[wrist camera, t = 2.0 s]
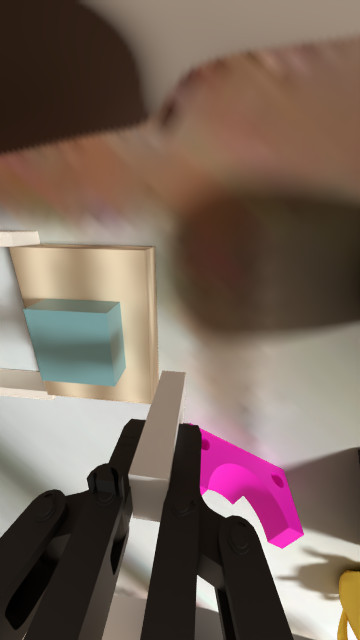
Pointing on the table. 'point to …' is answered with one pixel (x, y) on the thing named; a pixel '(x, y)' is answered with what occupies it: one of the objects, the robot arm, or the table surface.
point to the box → (21, 380)
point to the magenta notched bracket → (250, 487)
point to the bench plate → (100, 285)
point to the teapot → (349, 603)
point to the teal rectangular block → (77, 340)
